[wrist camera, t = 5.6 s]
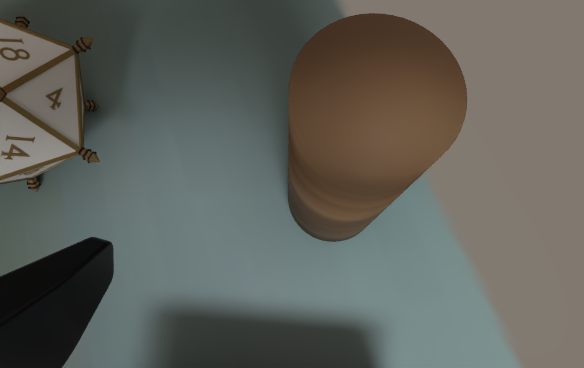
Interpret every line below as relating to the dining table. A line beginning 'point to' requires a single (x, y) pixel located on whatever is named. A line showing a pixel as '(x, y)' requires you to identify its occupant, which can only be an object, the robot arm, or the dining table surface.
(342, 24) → the walnut pawn
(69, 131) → the grey faceted polyhedron
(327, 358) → the dining table surface
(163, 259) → the dining table surface
